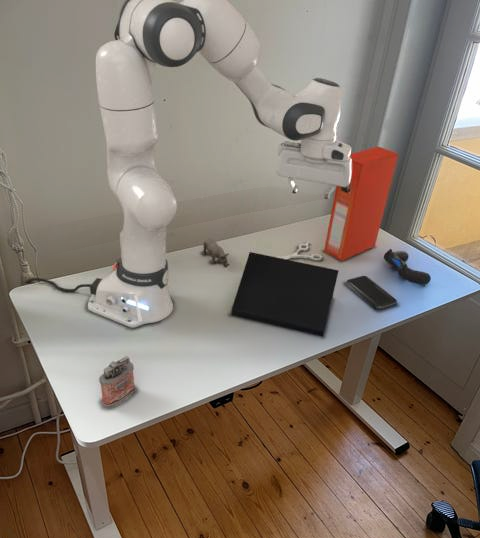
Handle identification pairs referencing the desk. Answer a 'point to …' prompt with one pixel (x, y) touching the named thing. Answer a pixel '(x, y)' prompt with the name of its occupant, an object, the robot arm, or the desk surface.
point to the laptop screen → (286, 291)
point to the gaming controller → (406, 267)
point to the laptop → (279, 322)
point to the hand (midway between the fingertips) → (310, 195)
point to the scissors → (296, 255)
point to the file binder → (360, 203)
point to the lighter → (117, 382)
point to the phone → (371, 292)
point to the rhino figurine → (215, 252)
